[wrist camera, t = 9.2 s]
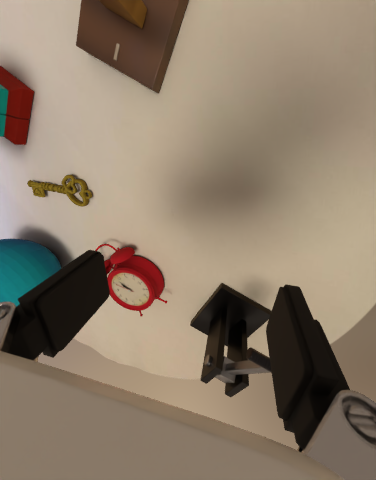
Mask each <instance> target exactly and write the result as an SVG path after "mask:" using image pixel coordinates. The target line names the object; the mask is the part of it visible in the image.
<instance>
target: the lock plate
mask: <svg viewBox="0 0 376 480" xmlns="http://www.w3.org/2000/svg"><path fill="white" fill-rule="evenodd" d="M142 2H143V3H144V5H145V6H146V7H147V12H146V16H145V20H144V24H143V28H142V29H141V28H139V27H138V26H136V25H134V24H133V23H131V22H129V21H128V20H126V19H124V18H123V17H121V16H119V15H118V14H116V13H114V12H112V11H111V10H109V9H107V8H106V7H105V6H104V5H103V4H102V3H101V2H100V1H99V0H82V1H81V9H80V17H79V26H78V34H77V42H76V46H78V47H79V48H81V49H83V50H84V51H86V52H87V53H89V54H91V55H93V56H94V57H96V58H98V59H99V60H101V61H103V62H105V63H106V64H108V65H110V66H112V67H113V68H115V69H117V70H119V71H120V72H122V73H124V74H125V75H127V76H129V77H131V78H132V79H134V80H136V81H138V82H139V83H141V84H143V85H145V86H146V87H148V88H150V89H151V90H153V91H155V92H157V93H159V91H160V88H161V85H162V82H163V78H164V75H165V72H166V69H167V66H168V63H169V60H170V57H171V53H172V50H173V47H174V44H175V41H176V38H177V35H178V32H179V28H180V25H181V22H182V19H183V16H184V13H185V10H186V7H187V3H188V0H142Z"/></svg>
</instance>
